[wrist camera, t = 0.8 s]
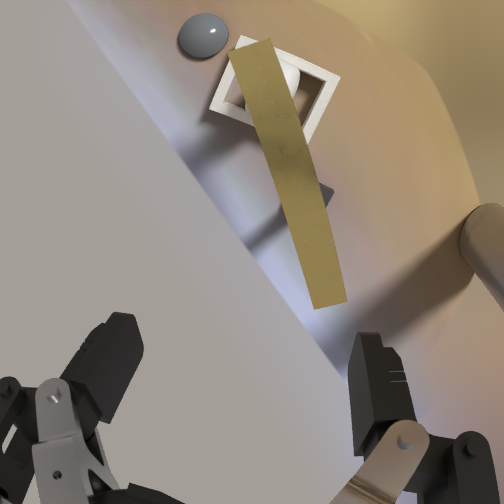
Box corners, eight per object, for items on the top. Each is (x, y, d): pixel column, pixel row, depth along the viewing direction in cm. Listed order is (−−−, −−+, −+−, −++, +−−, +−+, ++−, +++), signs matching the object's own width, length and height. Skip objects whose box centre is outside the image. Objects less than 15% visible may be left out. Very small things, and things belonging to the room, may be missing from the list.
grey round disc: (236, 22, 25) (235, 21, 25) (217, 63, 28) (216, 63, 27) (191, 9, 25) (190, 8, 24) (173, 50, 27) (172, 49, 27)
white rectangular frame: (336, 78, 27) (340, 77, 25) (303, 144, 31) (305, 149, 29) (244, 39, 26) (241, 35, 24) (214, 107, 30) (208, 108, 28)
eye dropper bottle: (239, 87, 29) (214, 86, 19) (287, 60, 27) (289, 43, 17) (262, 121, 31) (250, 139, 20) (310, 95, 29) (324, 99, 18)
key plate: (332, 189, 33) (334, 192, 32) (316, 219, 35) (317, 223, 34) (300, 173, 33) (300, 176, 32) (284, 205, 35) (284, 208, 34)
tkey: (251, 67, 27) (226, 52, 15) (276, 60, 26) (269, 38, 14) (305, 228, 35) (314, 309, 23) (327, 222, 34) (347, 301, 22)
